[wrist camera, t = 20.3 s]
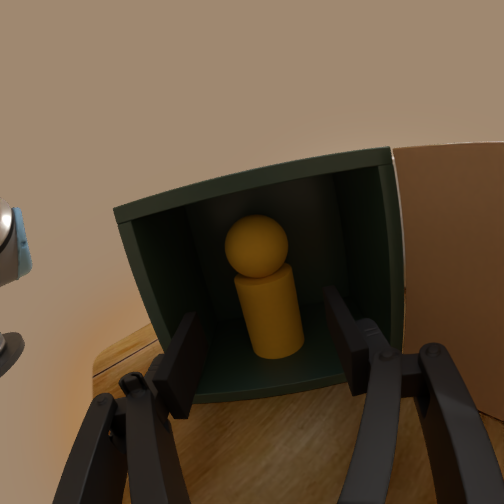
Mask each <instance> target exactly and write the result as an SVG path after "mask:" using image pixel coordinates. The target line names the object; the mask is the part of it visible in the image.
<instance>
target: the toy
mask: <svg viewBox="0 0 504 504" xmlns="http://www.w3.org/2000/svg"><path fill="white" fill-rule="evenodd" d="M225 253H226V256H227V259H228V261H229V263H230V264H231V266H232V267H233V268H234V269H235V270H236V271H237V272H239V273H238V274H237V275H236V276H235V278H234V282H235V286H236V289H237V293H238V297H239V300H240V304H241V308H242V311H243V315H244V319H245V322H246V326H247V329H248V333H249V337H250V340H251V344H252V347H253V350H254V352H255V353H256V354H257V355H258V356H260V357H262V358H266V359H279V358H284V357H287V356H289V355H292V354H294V353H295V352H297V351H298V350H299V349H300V348H301V347H302V345H303V343H304V334H303V328H302V322H301V316H300V310H299V305H298V299H297V294H296V288H295V283H294V278H293V272H292V267H291V266H290V265H289V264H287V263H284V261H285V259H286V257H287V253H288V240H287V236H286V233H285V231H284V230H283V228H282V227H281V226H280V224H279V223H277V222H276V221H275V220H274V219H272V218H270V217H267V216H264V215H249V216H246V217H243V218H241V219H239V220H238V221H237V222H235V223H234V224H233V226H232V227H231V228H230V230H229V231H228V233H227V236H226V240H225Z"/></svg>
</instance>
